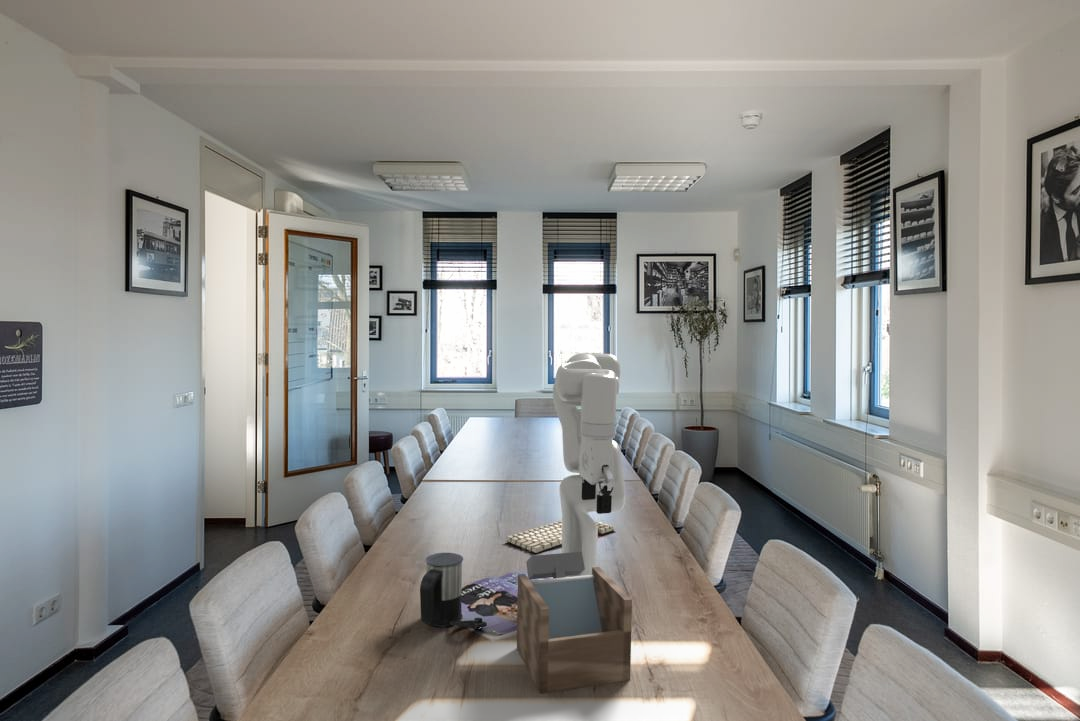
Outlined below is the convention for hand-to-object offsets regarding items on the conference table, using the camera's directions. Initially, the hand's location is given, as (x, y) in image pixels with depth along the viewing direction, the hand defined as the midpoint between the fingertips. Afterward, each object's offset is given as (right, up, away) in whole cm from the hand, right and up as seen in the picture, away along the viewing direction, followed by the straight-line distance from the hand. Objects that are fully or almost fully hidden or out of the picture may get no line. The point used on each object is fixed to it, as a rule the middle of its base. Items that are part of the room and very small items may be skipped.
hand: (595, 506), depth 139 cm
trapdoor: (-8, -23, +2) cm, 24 cm away
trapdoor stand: (-6, -32, -7) cm, 33 cm away
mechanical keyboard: (-5, -29, +75) cm, 81 cm away
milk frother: (-32, -31, +11) cm, 46 cm away
